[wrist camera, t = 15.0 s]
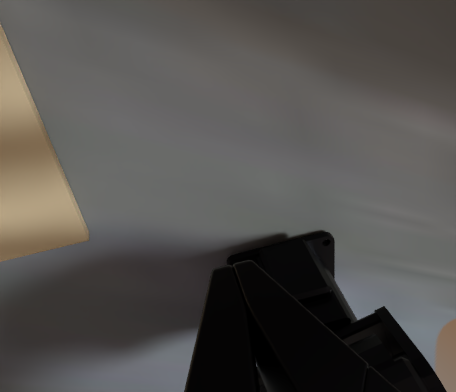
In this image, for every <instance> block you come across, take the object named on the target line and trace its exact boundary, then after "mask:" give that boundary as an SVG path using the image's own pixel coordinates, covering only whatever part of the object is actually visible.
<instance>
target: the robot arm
mask: <svg viewBox="0 0 456 392" xmlns="http://www.w3.org/2000/svg"><path fill="white" fill-rule="evenodd" d="M324 240H326V241H325V242H323V241H324ZM235 262H238V263H235ZM234 263H235V264H234ZM256 364H257V366H256ZM184 392H446V390H445V388H444V387H443V385H442V383H441V381H440V380H439V378H438V377H437V375H436V373H435V372H434V370H433V369H432V367H431V366H430V364H429V363H428V362H427V360H426V359H425V358H424V356H423V355H422V354H421V352H420V351H419V350H418V349H417V347H416V346H415V345H414V343H413V342H412V341H411V340H410V338H409V337H408V336H407V334H406V333H405V332H404V331H403V329H402V328H401V327H400V326H399V324H398V323H397V322H396V320H395V319H394V318H393V317H392V315H391V314H390V313H389V311H388V310H387V309H386V308H385V306H383V307H381V308H379V309H377V310H375V313H373V314H370V315H368V316H366V317H364V318H362V319H360V320H357V318H356V317H355V315H354V313H353V311H352V310H351V308H350V306H349V305H348V303H347V301H346V299H345V298H344V296H343V294H342V292H341V291H340V289H339V287H338V285H337V284H336V282H335V280H334V238H333V236H332V235H331V234H330V233H329V232H323V233H319V234H315V235H311V236H307V237H303V238H299V239H295V240H291V241H287V242H283V243H279V244H275V245H271V246H267V247H263V248H259V249H255V250H251V251H247V252H243V253H239V254H235V255H232V256H230V257H229V258H228V260H227V266H223V267H219V268H215V269H213V270H212V273H211V277H210V281H209V286H208V290H207V294H206V299H205V303H204V308H203V312H202V316H201V321H200V325H199V329H198V334H197V338H196V342H195V347H194V351H193V355H192V360H191V364H190V369H189V373H188V377H187V382H186V386H185V390H184Z"/></svg>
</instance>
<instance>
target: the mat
mask: <svg viewBox="0 0 456 392" xmlns="http://www.w3.org/2000/svg"><path fill="white" fill-rule="evenodd" d="M84 241H89V231H88V229H87V226H86V224H85V222H84V219H83V217H82V215H81V212H80V210H79V207H78V205H77V203H76V200H75V198H74V196H73V193H72V191H71V189H70V186H69V184H68V182H67V179H66V177H65V174H64V172H63V170H62V167H61V165H60V163H59V160H58V158H57V156H56V153H55V151H54V148H53V146H52V144H51V141H50V139H49V137H48V134H47V132H46V130H45V127H44V125H43V122H42V120H41V118H40V115H39V113H38V111H37V108H36V106H35V104H34V101H33V99H32V96H31V94H30V92H29V89H28V87H27V85H26V82H25V80H24V78H23V75H22V73H21V71H20V68H19V66H18V63H17V61H16V59H15V56H14V54H13V52H12V49H11V47H10V45H9V42H8V40H7V37H6V35H5V33H4V30H3V28H2V26H1V23H0V262H1V261H5V260H9V259H13V258H17V257H22V256H26V255H30V254H34V253H38V252H43V251H47V250H51V249H55V248H59V247H63V246H68V245H72V244H76V243H80V242H84Z"/></svg>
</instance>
